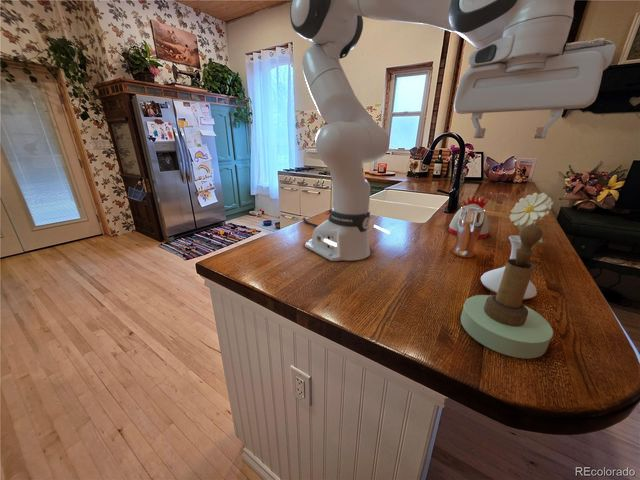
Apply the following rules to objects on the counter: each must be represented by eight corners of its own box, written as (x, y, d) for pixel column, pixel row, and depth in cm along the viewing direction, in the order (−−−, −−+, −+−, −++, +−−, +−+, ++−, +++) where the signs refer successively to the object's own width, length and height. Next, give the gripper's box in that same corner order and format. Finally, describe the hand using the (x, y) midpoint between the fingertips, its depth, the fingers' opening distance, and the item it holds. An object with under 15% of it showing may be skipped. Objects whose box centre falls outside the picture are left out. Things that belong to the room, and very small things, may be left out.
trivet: (452, 332, 50) (455, 317, 48) (469, 300, 59) (472, 287, 58) (545, 373, 41) (552, 356, 40) (547, 328, 51) (553, 313, 50)
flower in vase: (475, 275, 70) (500, 184, 61) (525, 283, 67) (559, 187, 57) (484, 301, 59) (516, 194, 50) (545, 313, 55) (591, 199, 46)
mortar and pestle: (479, 314, 49) (505, 225, 43) (488, 300, 53) (513, 218, 47) (521, 331, 45) (557, 236, 38) (527, 315, 49) (561, 226, 42)
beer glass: (478, 259, 80) (490, 213, 75) (454, 257, 81) (464, 211, 76) (470, 250, 87) (481, 207, 81) (448, 248, 88) (457, 205, 82)
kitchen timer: (487, 241, 94) (498, 201, 89) (446, 234, 101) (454, 196, 96) (487, 230, 106) (496, 194, 100) (450, 225, 112) (457, 190, 107)
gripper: (618, 40, 39) (582, 138, 44) (468, 63, 51) (454, 138, 56) (626, 27, 34) (585, 138, 39) (459, 56, 47) (445, 138, 52)
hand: (507, 138), depth 48 cm, fingers open, 8 cm apart
